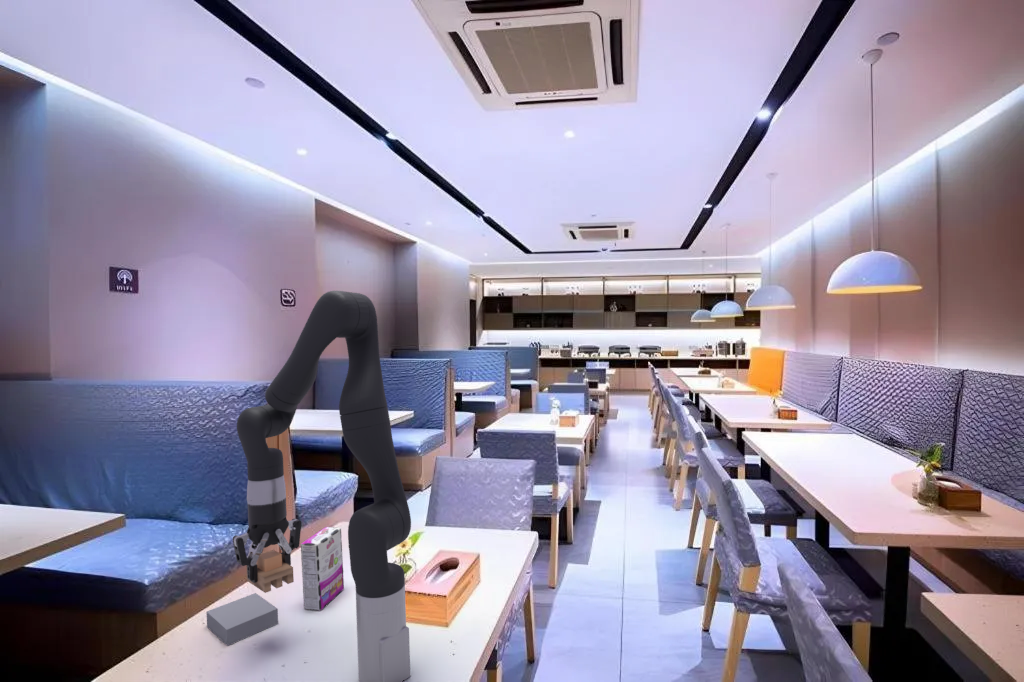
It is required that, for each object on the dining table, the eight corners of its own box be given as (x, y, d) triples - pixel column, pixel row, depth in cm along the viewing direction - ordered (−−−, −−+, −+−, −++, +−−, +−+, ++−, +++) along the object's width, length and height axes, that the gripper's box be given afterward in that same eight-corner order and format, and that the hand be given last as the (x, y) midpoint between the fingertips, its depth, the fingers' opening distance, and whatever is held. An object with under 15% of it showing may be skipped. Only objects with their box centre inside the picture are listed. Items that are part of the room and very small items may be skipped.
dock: (278, 623, 120) (277, 608, 120) (227, 645, 112) (226, 629, 112) (256, 607, 128) (255, 592, 128) (207, 626, 120) (206, 611, 120)
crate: (282, 566, 112) (281, 554, 112) (265, 572, 109) (264, 559, 109) (273, 561, 114) (273, 549, 114) (256, 567, 112) (256, 555, 112)
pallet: (293, 581, 111) (293, 567, 111) (265, 593, 107) (264, 577, 107) (274, 570, 117) (274, 556, 117) (247, 580, 112) (246, 566, 112)
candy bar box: (327, 588, 137) (325, 526, 137) (344, 589, 136) (342, 526, 136) (301, 610, 126) (299, 542, 126) (320, 611, 125) (318, 543, 125)
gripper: (238, 510, 104) (242, 594, 104) (307, 492, 115) (310, 568, 115) (224, 503, 109) (227, 583, 109) (291, 487, 120) (294, 560, 120)
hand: (270, 575), depth 112 cm, fingers closed on pallet, 6 cm apart
